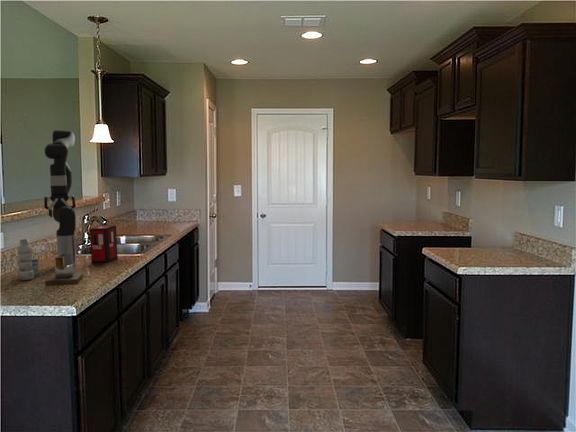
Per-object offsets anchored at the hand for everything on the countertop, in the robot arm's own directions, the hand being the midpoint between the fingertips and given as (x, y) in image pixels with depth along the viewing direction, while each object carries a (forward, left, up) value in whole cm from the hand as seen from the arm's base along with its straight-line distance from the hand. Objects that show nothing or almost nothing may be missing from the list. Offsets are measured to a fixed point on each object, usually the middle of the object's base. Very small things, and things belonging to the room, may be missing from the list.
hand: (60, 216), depth 250 cm
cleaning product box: (-36, +15, -30) cm, 49 cm away
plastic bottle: (+6, -16, -30) cm, 35 cm away
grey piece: (+14, +3, -28) cm, 31 cm away
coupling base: (+14, +3, -30) cm, 33 cm away
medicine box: (-2, -17, -30) cm, 35 cm away
